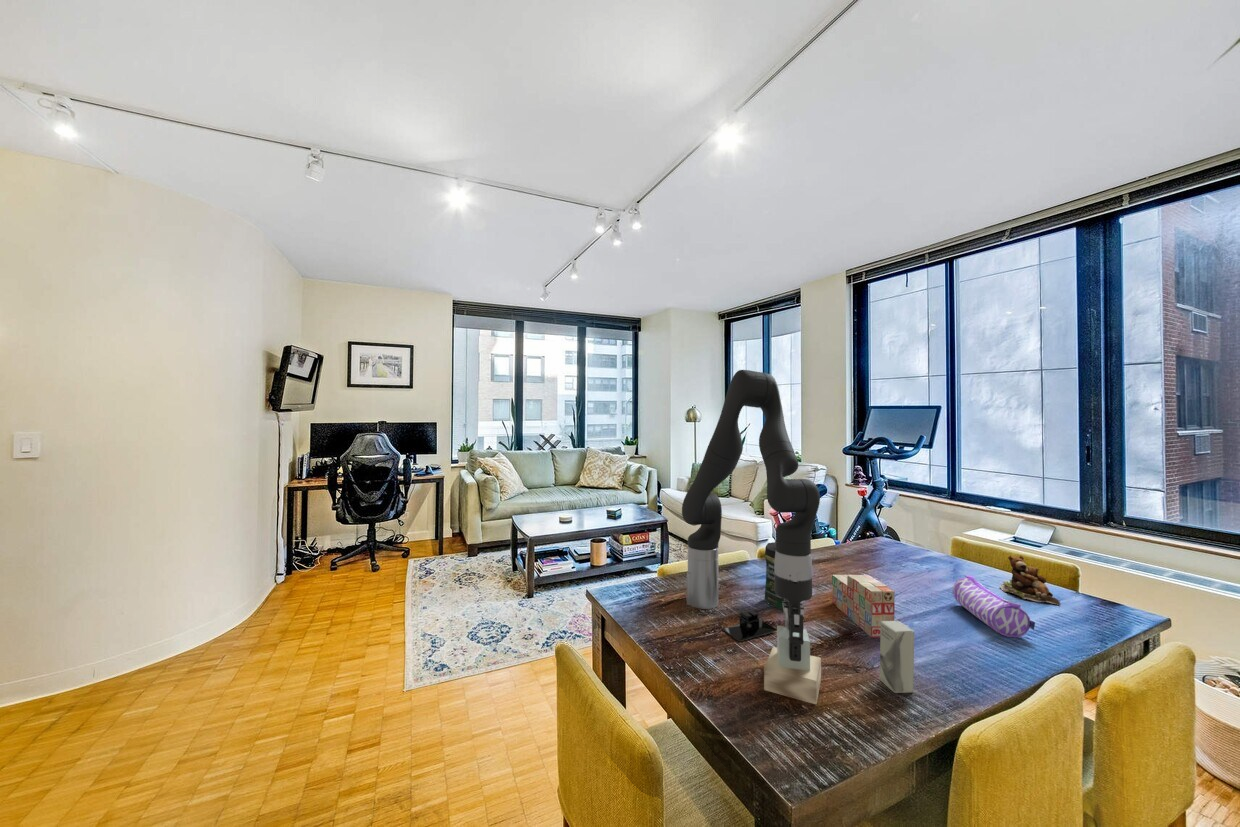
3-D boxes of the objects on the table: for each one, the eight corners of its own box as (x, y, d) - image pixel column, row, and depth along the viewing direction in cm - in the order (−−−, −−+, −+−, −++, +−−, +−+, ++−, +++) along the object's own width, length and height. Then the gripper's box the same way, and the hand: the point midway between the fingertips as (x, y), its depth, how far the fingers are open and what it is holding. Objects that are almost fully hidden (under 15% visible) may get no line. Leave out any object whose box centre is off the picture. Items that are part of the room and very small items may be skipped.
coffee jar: (760, 601, 140) (760, 541, 140) (779, 598, 143) (779, 539, 144) (782, 614, 131) (782, 549, 132) (803, 609, 134) (803, 546, 135)
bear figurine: (1016, 602, 141) (1016, 563, 141) (993, 586, 156) (992, 550, 156) (1071, 608, 137) (1070, 567, 137) (1041, 590, 152) (1041, 554, 152)
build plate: (739, 642, 114) (738, 623, 114) (721, 629, 121) (720, 612, 121) (777, 630, 119) (776, 613, 119) (758, 619, 126) (757, 602, 126)
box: (878, 680, 98) (878, 620, 98) (897, 679, 98) (897, 619, 98) (895, 694, 93) (895, 631, 93) (915, 693, 93) (915, 630, 93)
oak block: (764, 691, 94) (764, 667, 94) (773, 668, 103) (773, 646, 103) (816, 706, 89) (816, 680, 89) (821, 681, 98) (821, 657, 98)
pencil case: (1036, 641, 116) (1036, 604, 116) (996, 639, 117) (996, 602, 117) (981, 606, 138) (980, 575, 138) (947, 604, 139) (947, 573, 139)
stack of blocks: (831, 604, 138) (831, 564, 139) (852, 604, 139) (851, 564, 139) (871, 638, 117) (871, 590, 117) (895, 638, 117) (895, 590, 117)
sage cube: (779, 666, 94) (779, 637, 94) (777, 652, 100) (777, 625, 100) (810, 671, 93) (810, 641, 93) (806, 656, 99) (806, 628, 99)
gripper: (772, 561, 104) (772, 633, 104) (776, 582, 91) (776, 666, 90) (807, 564, 102) (807, 638, 102) (817, 586, 89) (817, 672, 88)
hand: (793, 651), depth 96 cm, fingers open, 7 cm apart
